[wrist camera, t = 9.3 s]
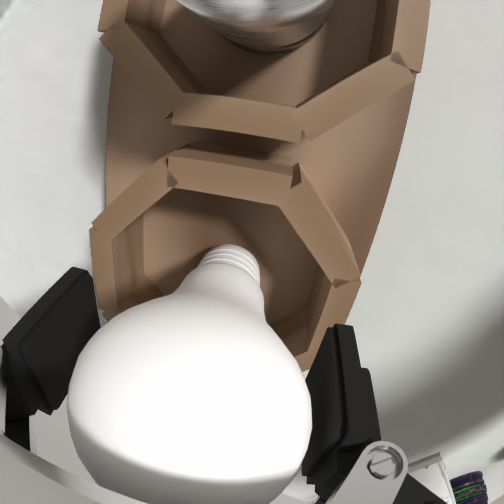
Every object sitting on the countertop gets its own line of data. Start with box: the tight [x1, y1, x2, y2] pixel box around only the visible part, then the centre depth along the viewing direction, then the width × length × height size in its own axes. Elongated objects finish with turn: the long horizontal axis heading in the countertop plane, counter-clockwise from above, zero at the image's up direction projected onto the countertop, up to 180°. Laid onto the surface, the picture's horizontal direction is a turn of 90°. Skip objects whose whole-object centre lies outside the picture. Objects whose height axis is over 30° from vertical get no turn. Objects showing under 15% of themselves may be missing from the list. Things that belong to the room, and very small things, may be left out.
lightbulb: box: [67, 244, 312, 504], centre depth 9 cm, size 6×6×11 cm
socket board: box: [89, 0, 430, 372], centre depth 11 cm, size 12×22×5 cm, turn 171°
